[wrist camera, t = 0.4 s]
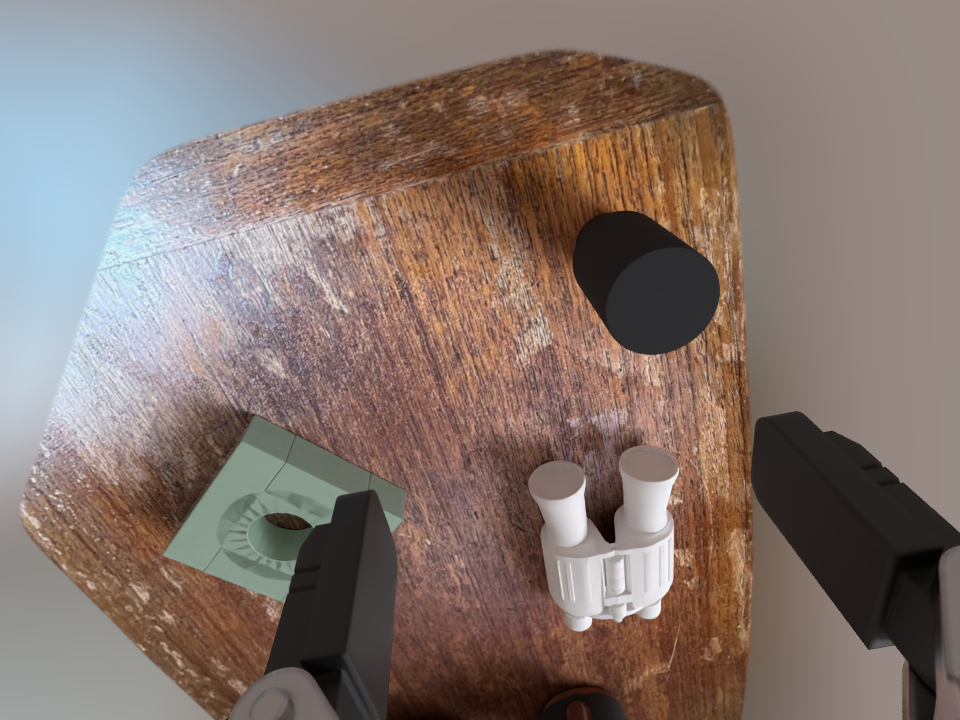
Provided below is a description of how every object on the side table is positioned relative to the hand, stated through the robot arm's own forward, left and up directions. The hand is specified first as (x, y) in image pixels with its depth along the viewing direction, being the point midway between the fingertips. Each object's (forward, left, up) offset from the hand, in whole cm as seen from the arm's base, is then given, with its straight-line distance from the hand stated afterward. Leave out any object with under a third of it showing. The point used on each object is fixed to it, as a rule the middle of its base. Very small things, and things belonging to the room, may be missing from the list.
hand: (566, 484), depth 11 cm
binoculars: (+23, -14, -22) cm, 35 cm away
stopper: (+7, +3, -22) cm, 23 cm away
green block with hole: (+2, -25, -22) cm, 34 cm away
